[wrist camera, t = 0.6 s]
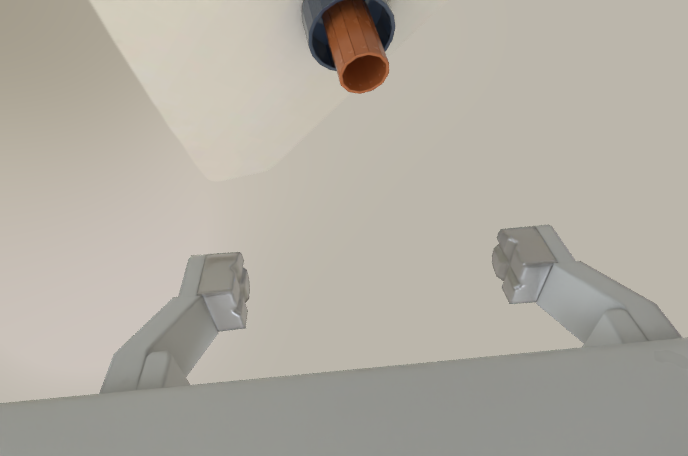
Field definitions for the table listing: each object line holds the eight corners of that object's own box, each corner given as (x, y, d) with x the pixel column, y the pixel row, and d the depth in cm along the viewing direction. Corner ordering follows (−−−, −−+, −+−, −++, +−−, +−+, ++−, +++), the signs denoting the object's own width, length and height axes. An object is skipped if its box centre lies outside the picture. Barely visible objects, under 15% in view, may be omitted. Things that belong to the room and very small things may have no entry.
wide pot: (318, -45, 50) (327, -18, 48) (399, -20, 56) (411, 6, 53) (291, 37, 60) (297, 63, 57) (362, 52, 65) (371, 77, 62)
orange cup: (331, -15, 53) (352, 48, 48) (374, -3, 56) (398, 58, 51) (315, 27, 59) (332, 89, 53) (355, 37, 61) (375, 96, 56)
